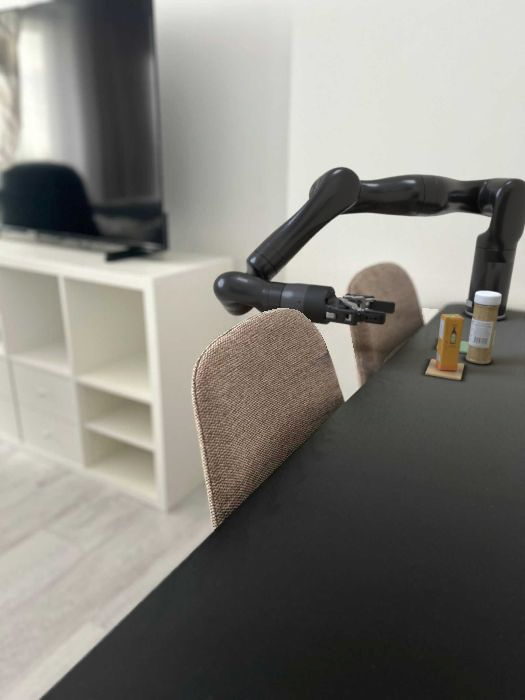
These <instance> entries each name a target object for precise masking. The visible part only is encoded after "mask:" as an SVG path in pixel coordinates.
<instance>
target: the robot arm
mask: <svg viewBox="0 0 525 700" xmlns="http://www.w3.org/2000/svg"><path fill="white" fill-rule="evenodd" d="M453 213H461V214H462V213H464V214H472V215H477V216H482V217H483V216H484V217H487V218H490V222H489V225H488V227H487V229H486V230H485V231H483V232H481V233H479V234H478V235H477V236H476V240H475V246H474V253H473V260H472V267H471V274H470V281H469V287H468V288H469V289H468V294H467V299H465V305H466V306H465V307H466V308H465V310H464V315H465V316H467V317H470V318H472V317H473V312H474V303H475V302H474V298H475V293H476V292H478V291H492V292H497V293H500V294H501V295H502V297H501V304H500V306H499V308H498V315H497V321H502V320H504V319H506V311H507V306H508V300H509V294H510V289H511V282H512V277H513V272H514V268H515V267H514V266H515V261H516V255H517V249H518V244H519V242H520V240H521V238H522V237H523V234H524V231H525V180H523V179H521V178H516V177H493V178H484V179H474V180H473V179H472V180H471V179H470V180H461V179H456V178H451V177H448V176H443V175H435V174H421V173H419V174H418V173H411V174H399V175H394V176H388V177H382V178H377V179H360V176H359V175H358V174H357V172H356V171H354V170H353V169H351V168H349V167H347V166H346V167H345V166H336V167H333V168H330V169H329V170H326V171H325V172H324V173H322V174H321V175H320V176H318V177H317V178H316V179H315V180H314V181H313V183H312V185H311V186H310V188H309V191H308V200H306V201H305V202H304V204H303V205H302V206H301V207H300V208H299V209H298V210H297V211H296V212H295V213H294V214H293V215H292V216H290V217H289V219H287V220H286V221H285V222H283V223H282V224H281V225H280V226H278V227H277V228H276V229H275V230H274V231H272V232H271V233H270V234H269V235H268V236H267V237H266V238H265V239H264V240H263V241H262V242H261V243H260V244H259V245H258V246H257V247H256V248H255V249H253V251H252V252H251V253H250V254H249V255H248V256H247V258H246V260H245V267H246V272H243V271H240V270H239V271H238V270H229V271H225V272H222V273H220V275H218V276H217V277H216V278H215V279H214V281H213V285H212V292H213V293H214V296H215V298H216V299H217V301H218V302H219V303H220V304H221V305H222V307H223V308H224V310H225V311H226V312H227V313H228V314H229V315H231V316H234V317H241V316H244V315H245V314H248V313H249V312H251V311H252V310H253V309H256V310H257V311H258V312H259V313H261V314H263V313H262V312H264V311H268V310H272V309H277V308H289V309H295V310H298V311H300V312H301V313H303V314H304V315H305V316H306V317H307V318H308V319H310V320H311V322H312V323H311V322H310V323H311V324H319V325H329V324H330V323H334V324H340V325H346V326H347V325H348V326H353V327H355V326H358V324H359V325H362V324H364V323H366V324H374V325H380V326H383V325H384V324H385V323H386V320H387V319H386V318H387V314H390V315H392V314H394V313H395V312H396V302H394V301H388V300H379V299H377V298H376V296H374V295H365V294H357V293H355V294H354V293H345V295H342V297H338V296H337V295H336V290H335V288H334V287H333V286H330V285H323V284H312V283H306V282H305V283H303V282H284V281H274V280H273V279H274V278H275V277H276V276H278V274H280V272H281V271H283V269H285V267H286V266H287V265H288V264H289V263H290V262H291V261H292V260H293V259H294V258H295V257H296V256H297V254H298V253H299V252H300V251H301V250H302V249H304V247H305V246H306V245H307V244H308V243H309V242H310V241H311V240H312V239H313V238H314V237H315V236H317V234H318V233H319V232H320V231H322V230H323V229H324V228H325V227H326V226H327V225H328V224H330V223H331V222H332V221H333V220H334V219H336V218H337V217H339V216H343V215H352V214H354V215H355V214H375V215H376V214H377V215H384V216H385V215H386V216H400V217H418V218H420V217H421V218H422V217H423V218H424V217H425V218H427V217H439V216H444V215H449V214H453ZM272 280H273V281H272ZM366 303H368V304H366Z"/></svg>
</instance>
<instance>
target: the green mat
mask: <svg viewBox="0 0 525 700" xmlns="http://www.w3.org/2000/svg"><path fill="white" fill-rule="evenodd" d="M468 342H469V341H465V340H461V344H460V351H459V354H460V353H461V354H467V351H468V345H469V343H468ZM437 347H438V344H437V345H436V347H435V350H437Z"/></svg>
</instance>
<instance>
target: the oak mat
mask: <svg viewBox="0 0 525 700" xmlns="http://www.w3.org/2000/svg"><path fill="white" fill-rule="evenodd" d="M464 368H465V363H462V362H458V367H457V371H446V370H443V371H442V370H439V369H438V368H437V366H436V358H431V359H430V362H429V364H428V365H427V369H426V371H425V372H424V373H425V376H430V377H437V378H443V379H450V380H454V381H455V380H456V381H461V380H462V377H463V374H464V373H463V372H464Z"/></svg>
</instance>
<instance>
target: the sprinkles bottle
mask: <svg viewBox="0 0 525 700" xmlns="http://www.w3.org/2000/svg"><path fill="white" fill-rule="evenodd" d="M501 297H502V295H501V294H500V293H497V292H492V291H478V292H476V293H475V298H474V302H475V303H474V312H473V317H471V324H470V328H469V329H470V330H469V336H468V341H467V342H468V343H469V345H468V351H467V353H466V356H465V360H466V361H468V362H470V363H472V364H477V365H486V364H490V363H491V361H492V351H493V346H494V342H495V338H496V337H495V335H496V327H497V321H498V320H497V315H498V308H499V306H500V304H501Z"/></svg>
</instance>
